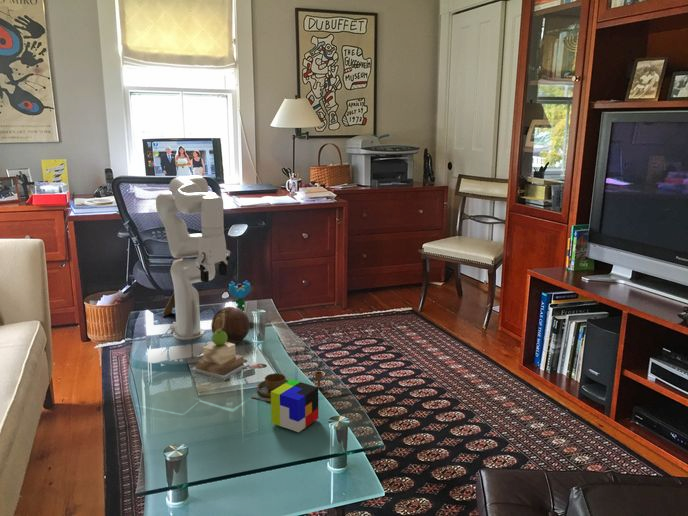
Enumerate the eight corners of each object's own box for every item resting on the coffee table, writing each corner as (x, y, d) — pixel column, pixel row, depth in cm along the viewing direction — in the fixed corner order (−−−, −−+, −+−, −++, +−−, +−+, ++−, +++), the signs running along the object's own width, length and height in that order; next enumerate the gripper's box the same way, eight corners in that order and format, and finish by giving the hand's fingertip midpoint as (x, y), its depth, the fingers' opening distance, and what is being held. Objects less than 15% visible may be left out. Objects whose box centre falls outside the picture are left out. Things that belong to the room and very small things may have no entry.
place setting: (272, 377, 204) (272, 361, 202) (324, 387, 197) (325, 371, 195) (246, 398, 188) (246, 381, 187) (302, 410, 181) (302, 392, 179)
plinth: (195, 369, 207) (194, 348, 205) (217, 357, 217) (216, 337, 215) (222, 376, 201) (221, 354, 200) (243, 363, 212) (243, 343, 210)
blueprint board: (189, 371, 207) (189, 368, 207) (215, 357, 219) (215, 355, 219) (225, 380, 200) (225, 377, 200) (249, 366, 212) (249, 363, 212)
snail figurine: (231, 342, 211) (230, 310, 208) (222, 348, 205) (221, 316, 202) (218, 340, 212) (217, 309, 210) (209, 346, 206) (207, 314, 204)
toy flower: (251, 323, 257) (250, 284, 253) (231, 325, 255) (229, 285, 251) (250, 317, 266) (248, 279, 262) (230, 318, 264) (228, 280, 260)
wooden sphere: (253, 337, 241) (253, 302, 238) (244, 350, 226) (243, 314, 223) (218, 335, 242) (217, 301, 239) (207, 349, 228) (205, 312, 224)
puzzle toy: (298, 432, 166) (298, 400, 164) (271, 422, 172) (270, 391, 169) (318, 418, 175) (318, 387, 173) (291, 409, 180) (291, 379, 178)
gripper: (220, 226, 212) (221, 271, 216) (187, 234, 197) (189, 282, 201) (236, 228, 208) (237, 274, 213) (204, 237, 194) (205, 286, 198)
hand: (214, 278), depth 207 cm, fingers open, 9 cm apart
